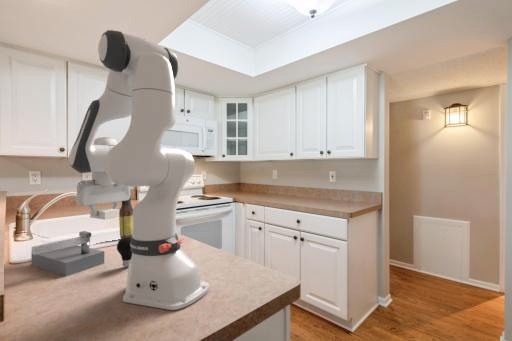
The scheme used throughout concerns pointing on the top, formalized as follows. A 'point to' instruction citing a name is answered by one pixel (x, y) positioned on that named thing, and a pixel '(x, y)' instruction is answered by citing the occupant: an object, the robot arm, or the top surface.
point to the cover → (106, 213)
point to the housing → (68, 260)
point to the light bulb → (125, 250)
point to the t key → (65, 244)
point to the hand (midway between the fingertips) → (104, 214)
